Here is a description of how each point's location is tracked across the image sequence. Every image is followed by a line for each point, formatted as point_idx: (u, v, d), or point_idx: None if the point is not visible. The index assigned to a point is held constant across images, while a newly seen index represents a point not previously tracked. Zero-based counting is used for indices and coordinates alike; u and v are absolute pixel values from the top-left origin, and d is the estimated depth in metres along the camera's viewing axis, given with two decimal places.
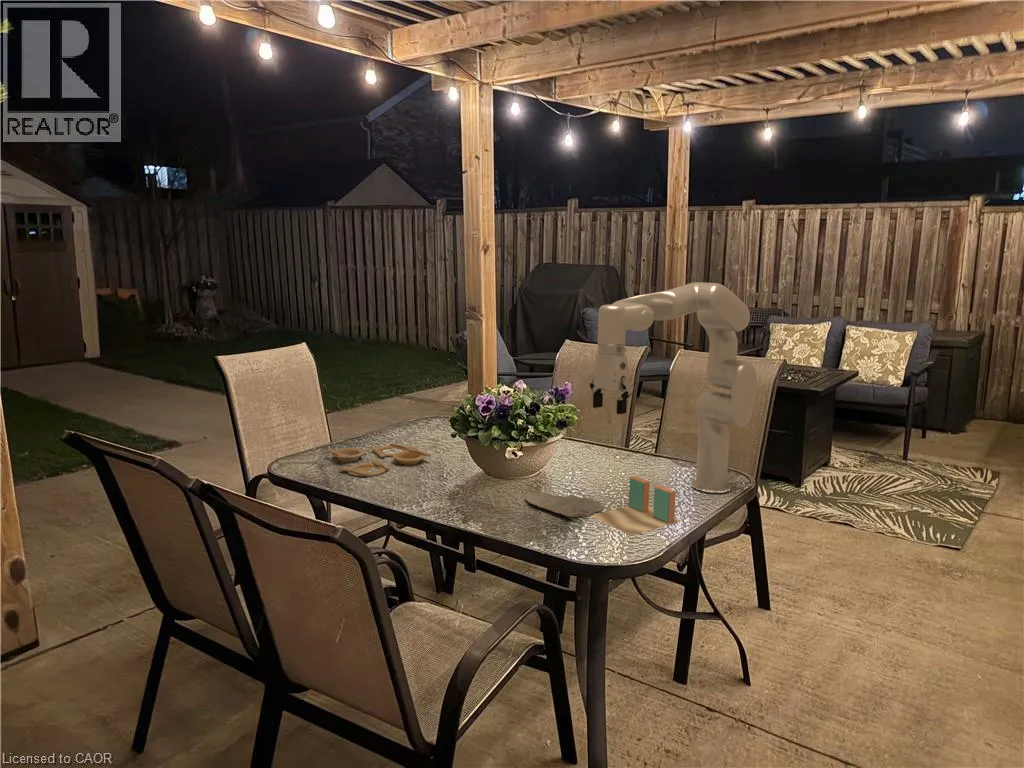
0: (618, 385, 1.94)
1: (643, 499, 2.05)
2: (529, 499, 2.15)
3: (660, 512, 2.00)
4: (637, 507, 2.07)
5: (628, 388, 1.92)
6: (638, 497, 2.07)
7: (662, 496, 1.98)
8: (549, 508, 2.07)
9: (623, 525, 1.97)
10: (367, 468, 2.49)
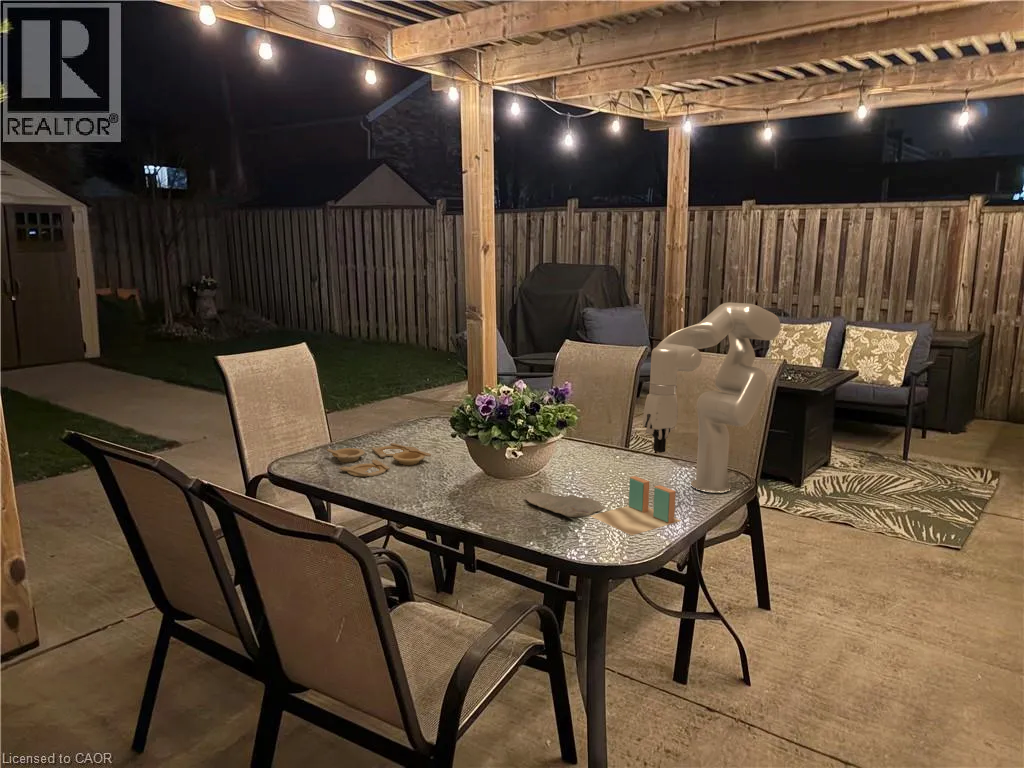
0: None
1: (643, 499, 2.05)
2: (529, 499, 2.15)
3: (660, 512, 2.00)
4: (637, 507, 2.07)
5: (672, 428, 2.11)
6: (638, 497, 2.07)
7: (662, 496, 1.98)
8: (549, 508, 2.07)
9: (623, 525, 1.97)
10: (367, 468, 2.49)
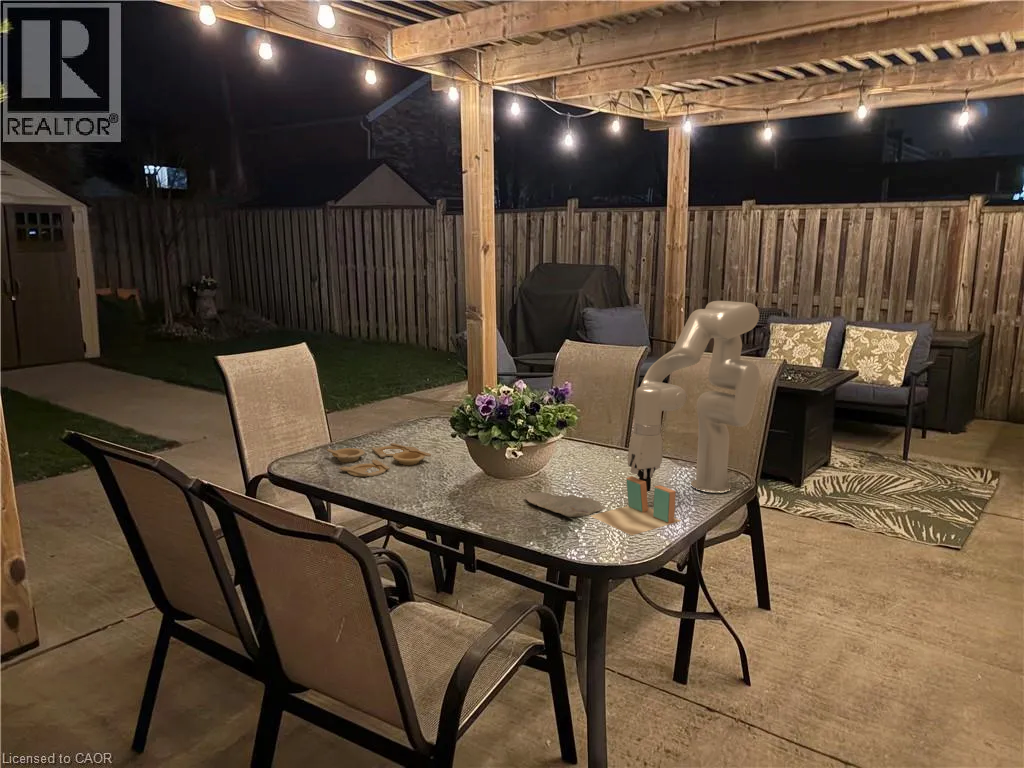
0: None
1: (642, 500, 2.05)
2: (529, 498, 2.15)
3: (660, 512, 2.00)
4: (637, 507, 2.07)
5: (657, 467, 2.10)
6: (636, 498, 2.06)
7: (662, 496, 1.98)
8: (548, 508, 2.07)
9: (623, 525, 1.97)
10: (367, 468, 2.49)
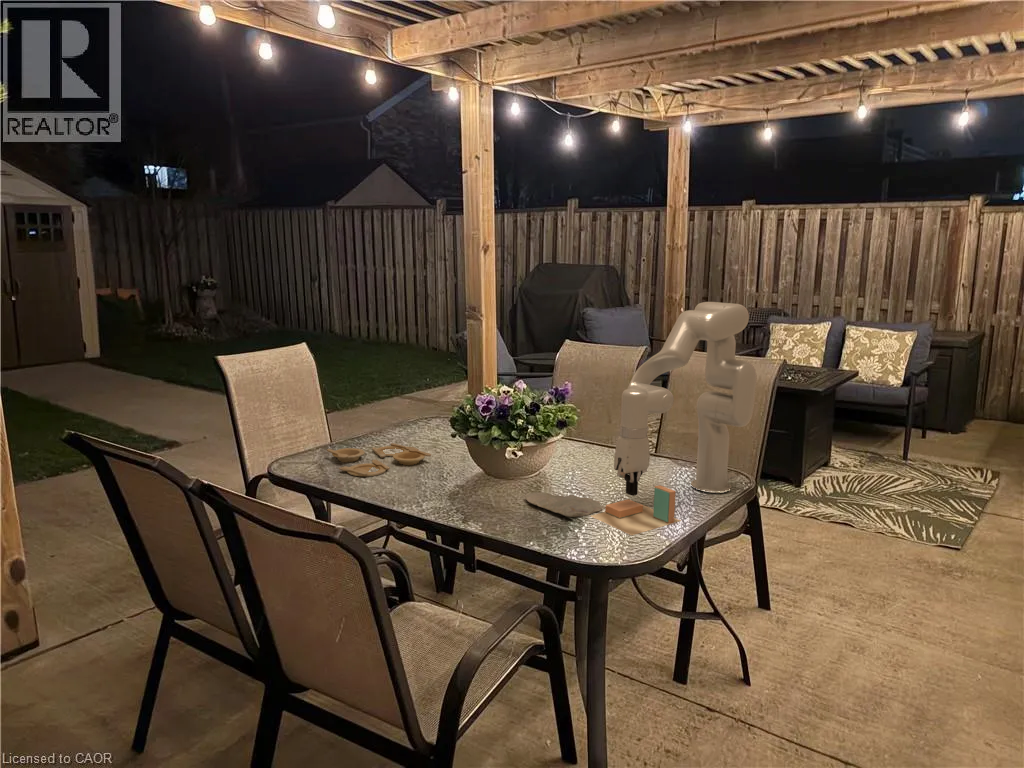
0: None
1: (632, 514, 2.04)
2: (529, 499, 2.15)
3: (660, 512, 2.00)
4: None
5: (644, 470, 2.07)
6: None
7: (662, 496, 1.98)
8: (548, 508, 2.08)
9: (623, 525, 1.97)
10: (367, 468, 2.49)
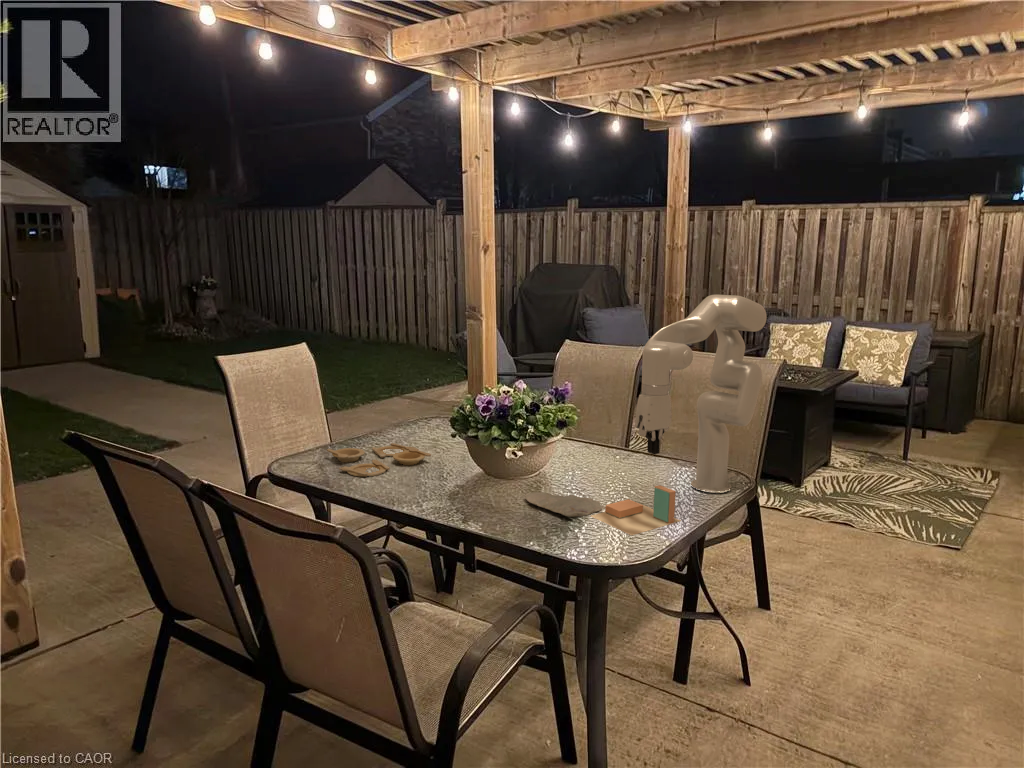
0: None
1: (632, 514, 2.04)
2: (529, 498, 2.15)
3: (660, 512, 2.00)
4: None
5: (666, 429, 2.04)
6: None
7: (662, 496, 1.98)
8: (548, 507, 2.08)
9: (623, 525, 1.97)
10: (367, 468, 2.49)
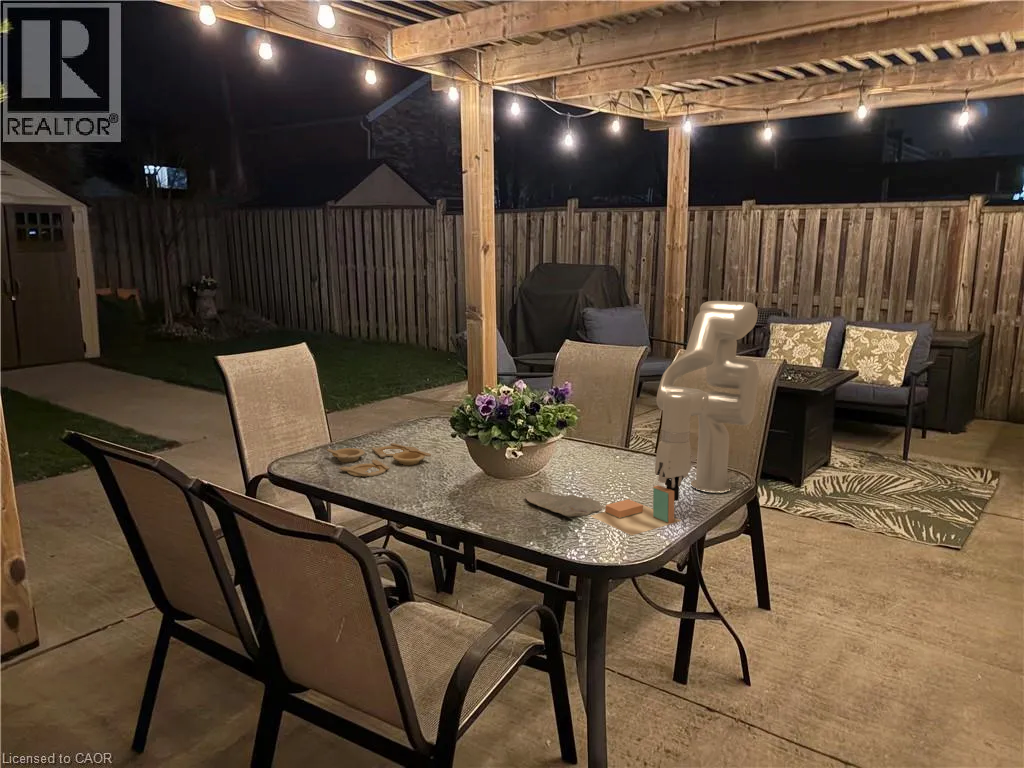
0: None
1: (632, 514, 2.04)
2: (528, 498, 2.16)
3: (660, 512, 2.00)
4: None
5: (685, 475, 2.02)
6: None
7: (661, 497, 1.98)
8: (547, 507, 2.08)
9: (623, 525, 1.97)
10: (367, 468, 2.49)
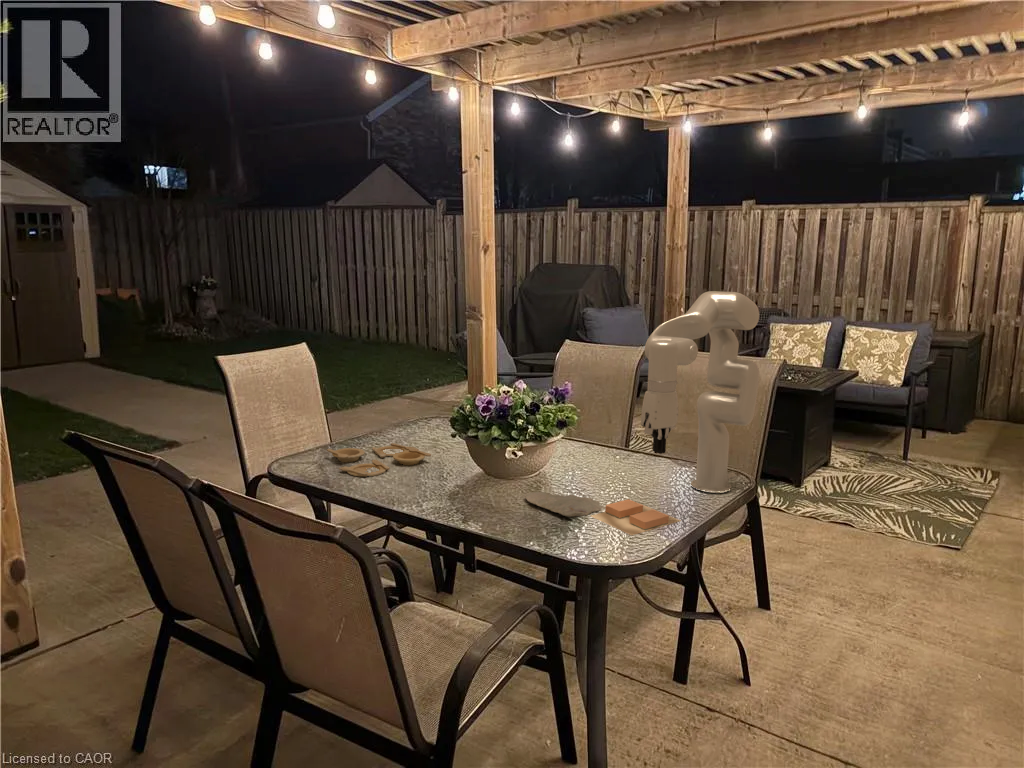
0: None
1: (632, 514, 2.04)
2: (528, 498, 2.16)
3: None
4: None
5: (672, 427, 1.96)
6: None
7: None
8: (547, 507, 2.08)
9: (623, 525, 1.97)
10: (367, 468, 2.49)
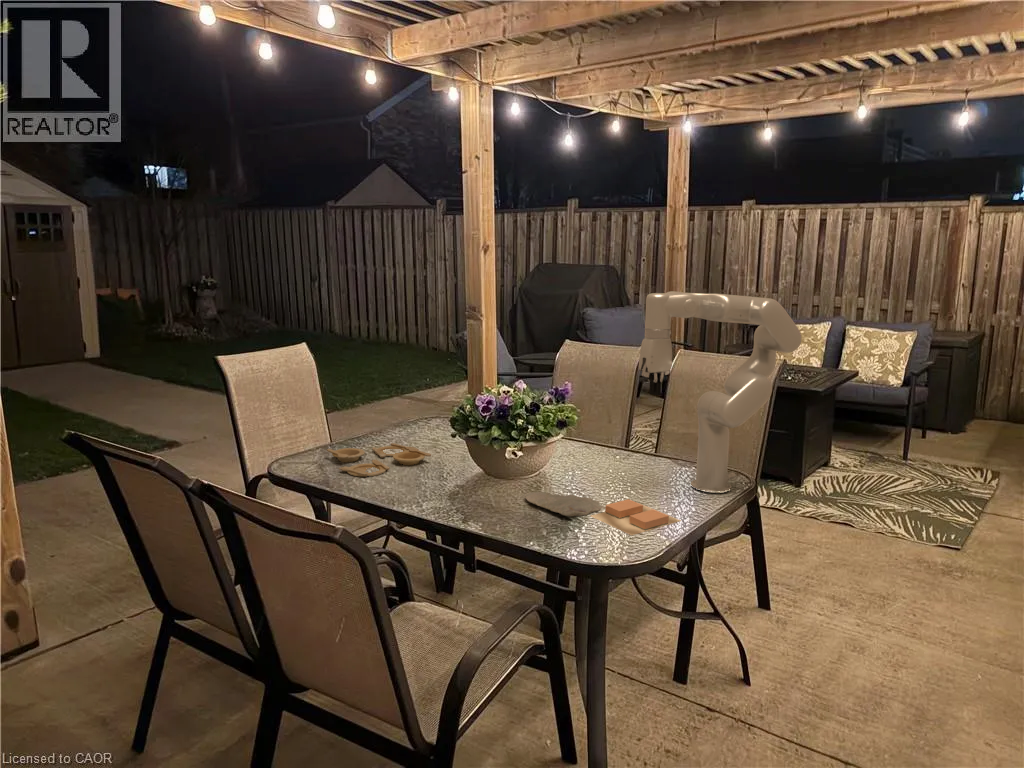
0: None
1: (632, 514, 2.04)
2: (528, 498, 2.16)
3: None
4: None
5: (667, 372, 2.19)
6: None
7: None
8: (547, 507, 2.08)
9: (623, 525, 1.97)
10: (367, 468, 2.49)
